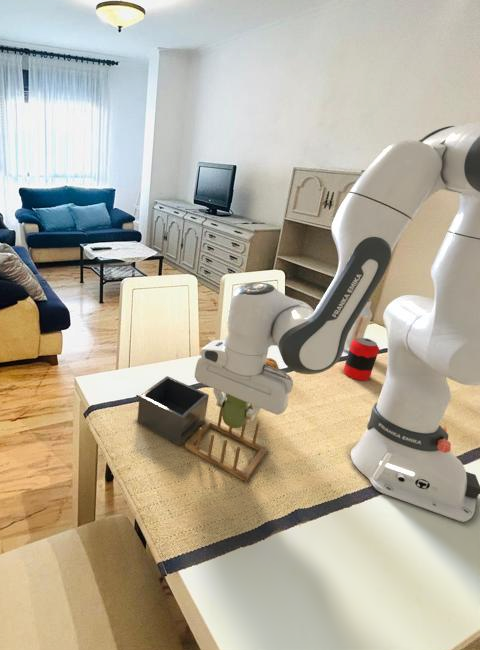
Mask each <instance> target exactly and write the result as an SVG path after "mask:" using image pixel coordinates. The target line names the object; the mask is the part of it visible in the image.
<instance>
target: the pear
mask: <svg viewBox="0 0 480 650" xmlns="http://www.w3.org/2000/svg"><path fill="white" fill-rule="evenodd" d="M226 398H227V400H226V402H225V404H224V406H223V411H222V421H223V423H224V424H225V425H226V426H228V428H229V427H231V428H232V429H240V428H242V426H243V425H244V424H245V423H246V424H247V422H248V419H246V412H247V411H248V410H249V409H250V408H249V407H248V405H247V403H248V402H245V401H243V400H240V399H238V398H236V397H233V396H231V395H229V394H226ZM246 421H247V422H246Z"/></svg>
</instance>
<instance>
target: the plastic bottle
mask: <svg viewBox="0 0 480 650" xmlns="http://www.w3.org/2000/svg"><path fill="white" fill-rule="evenodd" d="M371 304H372V300H371V299H369V300H368V302H367V303H366V305H365V307H364V308H363V310H362V311H361V313H360V315H359V316H358V318H357V319H356V321H355V323H354V324H353V326H352V328H351V329H350V331H349V333H348V336H347V339H346V342H345V346H344V350H343V351H346V352H349V350H350V346H351V343H352V341H354V340H356V339H357V338H365V337H364V336H365V333H366V330H367V328H368V326H369V323H370V322H371V320H372V317H373V313H372V310H371V308H370V307H371V306H372V305H371Z"/></svg>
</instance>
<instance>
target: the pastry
mask: <svg viewBox="0 0 480 650" xmlns="http://www.w3.org/2000/svg"><path fill="white" fill-rule="evenodd" d="M265 365H267V366H270V367H273V368H275V369H277V370H280V368H279V364H278V362H277V361H276V360H275V359H274V358H271V357H270V358H269V357H267V359H266V364H265Z"/></svg>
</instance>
